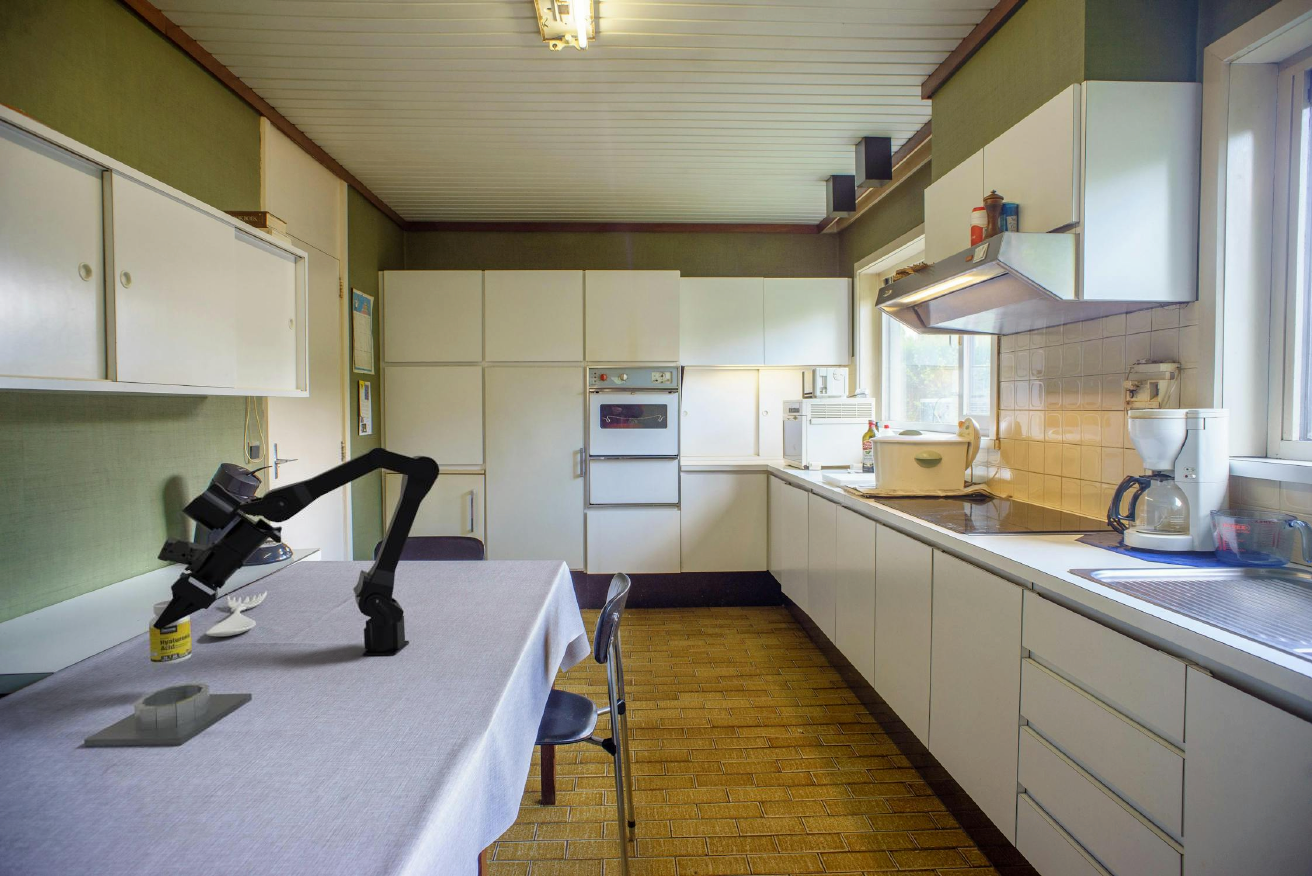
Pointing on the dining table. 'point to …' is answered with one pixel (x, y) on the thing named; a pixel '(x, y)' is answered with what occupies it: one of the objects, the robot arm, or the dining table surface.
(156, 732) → the duct collar
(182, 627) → the supplement bottle
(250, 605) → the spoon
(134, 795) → the dining table surface
